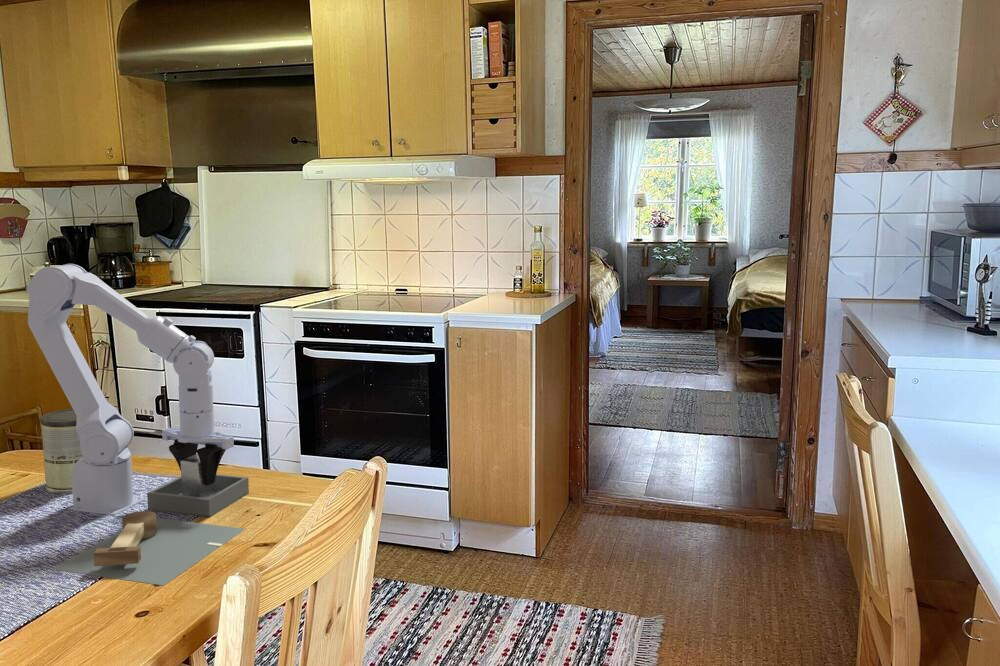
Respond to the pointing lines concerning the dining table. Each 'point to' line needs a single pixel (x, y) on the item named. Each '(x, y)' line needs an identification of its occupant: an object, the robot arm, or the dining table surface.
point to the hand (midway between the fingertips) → (199, 481)
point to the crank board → (158, 552)
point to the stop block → (194, 479)
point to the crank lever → (128, 540)
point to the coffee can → (60, 448)
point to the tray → (175, 502)
